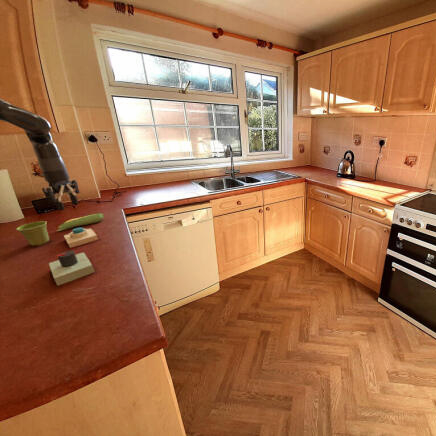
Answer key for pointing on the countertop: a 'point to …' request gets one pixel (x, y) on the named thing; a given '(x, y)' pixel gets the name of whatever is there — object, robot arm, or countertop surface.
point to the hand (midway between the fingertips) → (69, 207)
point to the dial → (67, 259)
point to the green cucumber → (81, 221)
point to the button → (78, 230)
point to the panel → (71, 270)
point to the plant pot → (35, 232)
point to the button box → (80, 237)
